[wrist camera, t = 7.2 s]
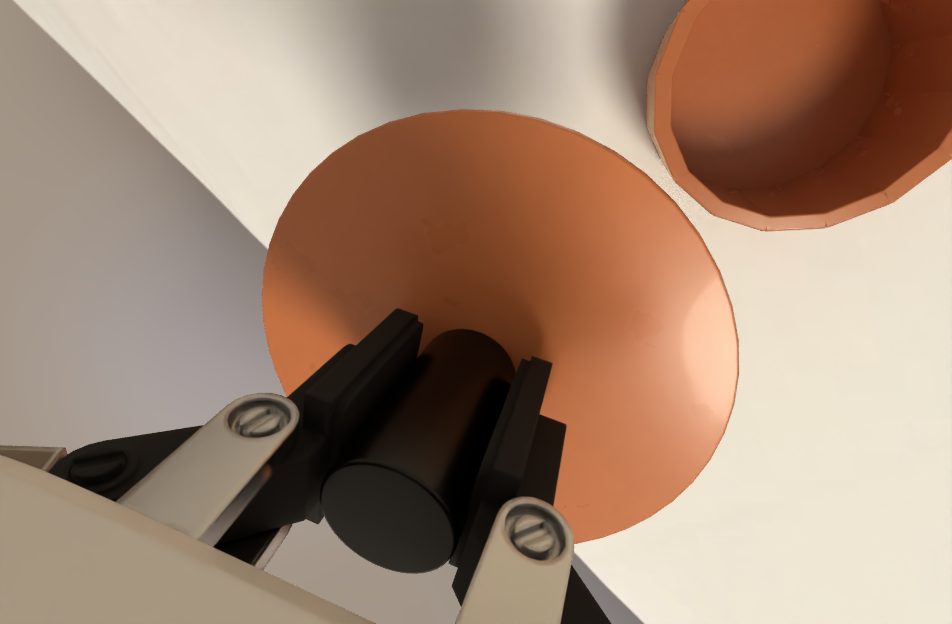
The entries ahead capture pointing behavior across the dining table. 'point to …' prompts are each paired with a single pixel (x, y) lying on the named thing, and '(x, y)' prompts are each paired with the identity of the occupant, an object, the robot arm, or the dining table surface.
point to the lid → (502, 322)
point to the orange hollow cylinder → (802, 106)
